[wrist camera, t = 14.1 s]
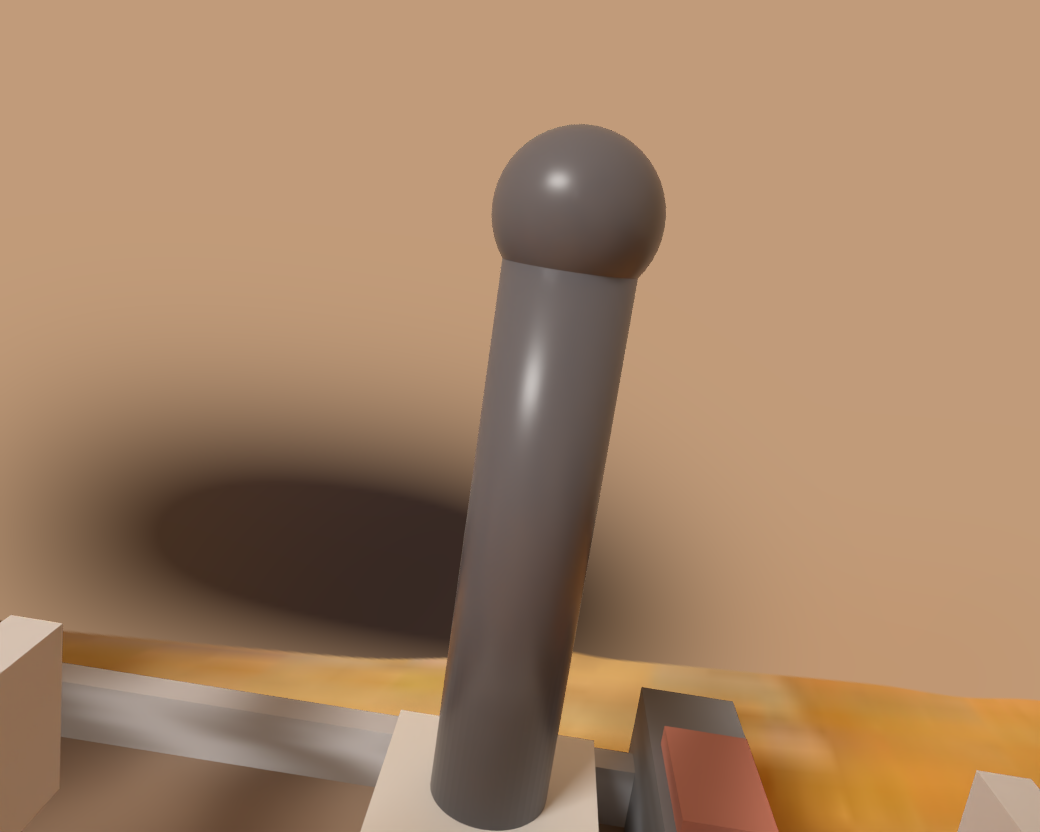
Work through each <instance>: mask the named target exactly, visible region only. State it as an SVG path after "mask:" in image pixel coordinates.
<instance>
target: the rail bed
mask: <svg viewBox="0 0 1040 832" xmlns="http://www.w3.org/2000/svg"><path fill="white" fill-rule="evenodd" d="M398 717H399V716H394V715H388V714H382V713H375V712H369V711H363V710H357V709H350V708H344V707H338V706H331V705H325V704H319V703H313V702H306V701H300V700H294V699H288V698H281V697H275V696H269V695H263V694H256V693H250V692H244V691H237V690H231V689H225V688H219V687H212V686H206V685H200V684H194V683H187V682H181V681H175V680H169V679H162V678H156V677H150V676H143V675H137V674H131V673H125V672H118V671H112V670H106V669H100V668H93V667H87V666H81V665H75V664H68V663H62V694H61V742H60V789H59V790H58V791H57V792H56V793H55V794H54V795H53V796H52V798H51V799H50V800H49V801H48V802H47V803H46V804H45V805H44V807H43V808H42V809H41V810H40V811H39V812H38V813H37V814H36V815H35V817H34V818H33V819H32V820H31V821H30V822H29V823H28V824H27V826H26V827H25V828H24V829H23V830H22V831H21V832H360V831H361V828H362V825H363V822H364V819H365V816H366V813H367V810H368V807H369V804H370V801H371V798H372V795H373V792H374V789H375V786H376V783H377V780H378V777H379V774H380V771H381V768H382V765H383V762H384V759H385V756H386V753H387V750H388V747H389V744H390V741H391V738H392V735H393V732H394V729H395V726H396V723H397V720H398ZM594 754H595V772H596V791H597V809H598V828H599V832H779V831H778V828H777V825H776V823H775V820H774V817H773V814H772V811H771V808H770V805H769V802H768V800H767V797H766V794H765V791H764V788H763V785H762V782H761V779H760V776H759V774H758V771H757V768H756V765H755V762H754V759H753V756H752V753H751V751H750V748H749V745H748V742H747V739H746V738H745V735H744V733H743V730H742V727H741V724H740V721H739V718H738V715H737V712H736V709H735V707H734V704H733V702H732V701H726V700H719V699H713V698H707V697H700V696H694V695H688V694H681V693H675V692H669V691H662V690H656V689H650V688H643V687H642V688H641V693H640V698H639V703H638V708H637V713H636V719H635V724H634V729H633V734H632V739H631V744H630V749H629V753H626V752H620V751H613V750H607V749H601V748H595V747H594Z"/></svg>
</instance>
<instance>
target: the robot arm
mask: <svg viewBox="0 0 1040 832" xmlns="http://www.w3.org/2000/svg"><path fill="white" fill-rule="evenodd" d="M62 645H63V623H57V622H52V621H46V620H40V619H33V618H27V617H21V616H15V615H10V616H9V617H7V618H6V619H4V620H3V621H2V622H0V832H21V831H22V830H23V829H24V828H25V827H26V826H27V824H28V823H29V822H30V821H31V820H32V819H33V818H34V817H35V815H36V814H37V813H38V812H39V811H40V810H41V809H42V808H43V807H44V805H45V804H46V803H47V802H48V801H49V800H50V799H51V798H52V796H53V795H54V794H55V793H56V792H57V791H58V790H59V789H60V742H61V694H62ZM958 832H1040V789H1039V788H1038V787H1037V785H1036V784H1035V783H1034V782H1033V781H1032V779H1027V778H1021V777H1015V776H1009V775H1002V774H996V773H990V772H984V771H978V770H977V771H976V774H975V777H974V780H973V784H972V787H971V790H970V793H969V797H968V800H967V803H966V806H965V810H964V813H963V816H962V819H961V823H960V826H959V829H958Z"/></svg>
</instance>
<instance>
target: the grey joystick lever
mask: <svg viewBox="0 0 1040 832" xmlns="http://www.w3.org/2000/svg"><path fill="white" fill-rule="evenodd" d="M665 219H666V205H665V198H664V192H663V188H662V185H661V182H660V179H659V177H658V175H657V172H656V170H655V169H654V167H653V165H652V164H651V162H650V160H649V159H648V158H647V157H646V156H645V154H644V153H643V152H642V151H641V150H640V149H639V148H638V147H637V146H636V145H634V143H632V142H631V141H629V140H628V139H627V138H625V137H624V136H622V135H620V134H618V133H616V132H614V131H612V130H608V129H606V128H603V127H599V126H593V125H585V124H581V125H567V126H562V127H557V128H554V129H552V130H549V131H546V132H544V133H542V134H540V135H538V136H536V137H535V138H533V139H532V140H530V141H529V142H527V143H526V144H525V145H524V146H523V147H522V148H521V149H519V150H518V151H517V152H516V154H515V155H514V156H513V157H512V158H511V159H510V161H509V162H508V164H507V165H506V167H505V169H504V170H503V172H502V174H501V176H500V178H499V180H498V183H497V186H496V189H495V193H494V198H493V204H492V227H493V232H494V237H495V241H496V244H497V246H498V249H499V251H500V254H501V256H502V258H503V259H502V266H501V273H500V281H499V288H498V295H497V302H496V311H495V317H494V324H493V332H492V339H491V346H490V353H489V361H488V368H487V375H486V382H485V390H484V397H483V404H482V411H481V419H480V427H479V434H478V441H477V448H476V455H475V462H474V470H473V477H472V484H471V492H470V499H469V506H468V513H467V520H466V528H465V536H464V543H463V550H462V557H461V565H460V571H459V579H458V586H457V593H456V600H455V608H454V615H453V622H452V630H451V637H450V644H449V652H448V659H447V666H446V673H445V680H444V688H443V695H442V702H441V709H440V716H437V715H430V714H424V713H418V712H411V711H405V710H401V711H400V714H399V717H398V720H397V723H396V726H395V729H394V732H393V735H392V738H391V741H390V744H389V747H388V750H387V753H386V756H385V759H384V762H383V765H382V768H381V771H380V774H379V777H378V780H377V783H376V786H375V789H374V792H373V795H372V798H371V801H370V804H369V807H368V810H367V813H366V816H365V819H364V822H363V825H362V828H361V831H360V832H599V828H598V809H597V791H596V772H595V754H594V741H593V740H587V739H581V738H575V737H568V736H562V735H558V731H559V725H560V720H561V714H562V708H563V703H564V697H565V691H566V685H567V680H568V674H569V668H570V663H571V657H572V651H573V645H574V640H575V633H576V628H577V622H578V617H579V611H580V605H581V600H582V594H583V588H584V582H585V577H586V571H587V565H588V560H589V554H590V548H591V542H592V537H593V531H594V526H595V520H596V514H597V508H598V503H599V497H600V490H601V486H602V480H603V474H604V468H605V462H606V457H607V451H608V446H609V439H610V434H611V428H612V423H613V417H614V411H615V406H616V400H617V394H618V388H619V383H620V377H621V371H622V366H623V360H624V354H625V348H626V342H627V337H628V331H629V326H630V320H631V314H632V308H633V303H634V297H635V291H636V286H637V280H638V278H639V276H640V275H641V274H642V273H643V272H644V271H645V270H646V268H647V267H648V266H649V264H650V263H651V262H652V260H653V258H654V256H655V254H656V252H657V251H658V248H659V245H660V243H661V240H662V236H663V232H664V227H665Z"/></svg>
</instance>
